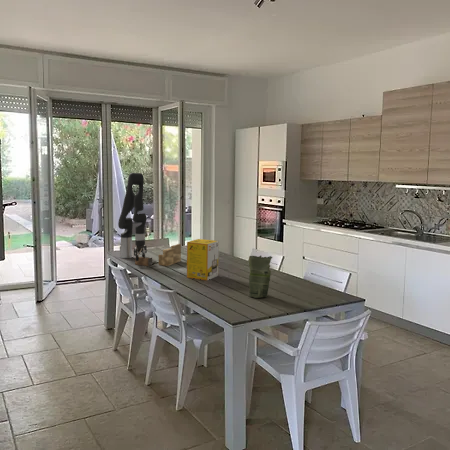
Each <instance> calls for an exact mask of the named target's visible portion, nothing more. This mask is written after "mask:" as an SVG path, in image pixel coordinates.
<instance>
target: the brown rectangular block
mask: <svg viewBox="0 0 450 450" xmlns="http://www.w3.org/2000/svg"><path fill="white" fill-rule="evenodd" d="M134 258H135V259H134V262H135V265H136V266H145V267H150V266H153V257H146V256H145V257H142V256H139V261H136V256H135V257H134Z"/></svg>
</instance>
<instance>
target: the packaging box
mask: <svg viewBox="0 0 450 450" xmlns="http://www.w3.org/2000/svg"><path fill="white" fill-rule="evenodd" d="M219 243H220V241H219V240H213V239H201V238H196V239H193V240H190V241H187V242H186V278H187V279H193V278H195V279H194V280H200V279H201V281H209V279H210V280H212V279H214V278H216V277H218V276H219V251H220V250H219V249H220V246H219V245H220V244H219Z"/></svg>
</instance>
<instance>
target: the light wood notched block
mask: <svg viewBox="0 0 450 450" xmlns="http://www.w3.org/2000/svg"><path fill="white" fill-rule="evenodd" d="M157 257H158V265H159V266H164V267H169V266H171V265H174V264H177V263H180V262H181V261H182V243H177V244H174V245H171V246H170V248H165V249H162V254H158V256H157Z"/></svg>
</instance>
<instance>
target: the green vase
mask: <svg viewBox="0 0 450 450" xmlns="http://www.w3.org/2000/svg"><path fill="white" fill-rule="evenodd" d="M272 259H273V256H271V255H270V256H262V255H259V256H257V255H250V256H248V265H249V266H248V267H249V275H248V281H249V282H248V286H249V287H248V289H249V297H251V298H255V299H261V298H268V292H269V288H270V287H269V286H270V282H271V277H272V270H271V269H270V267H271V265H270V263H271V261H272Z"/></svg>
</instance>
